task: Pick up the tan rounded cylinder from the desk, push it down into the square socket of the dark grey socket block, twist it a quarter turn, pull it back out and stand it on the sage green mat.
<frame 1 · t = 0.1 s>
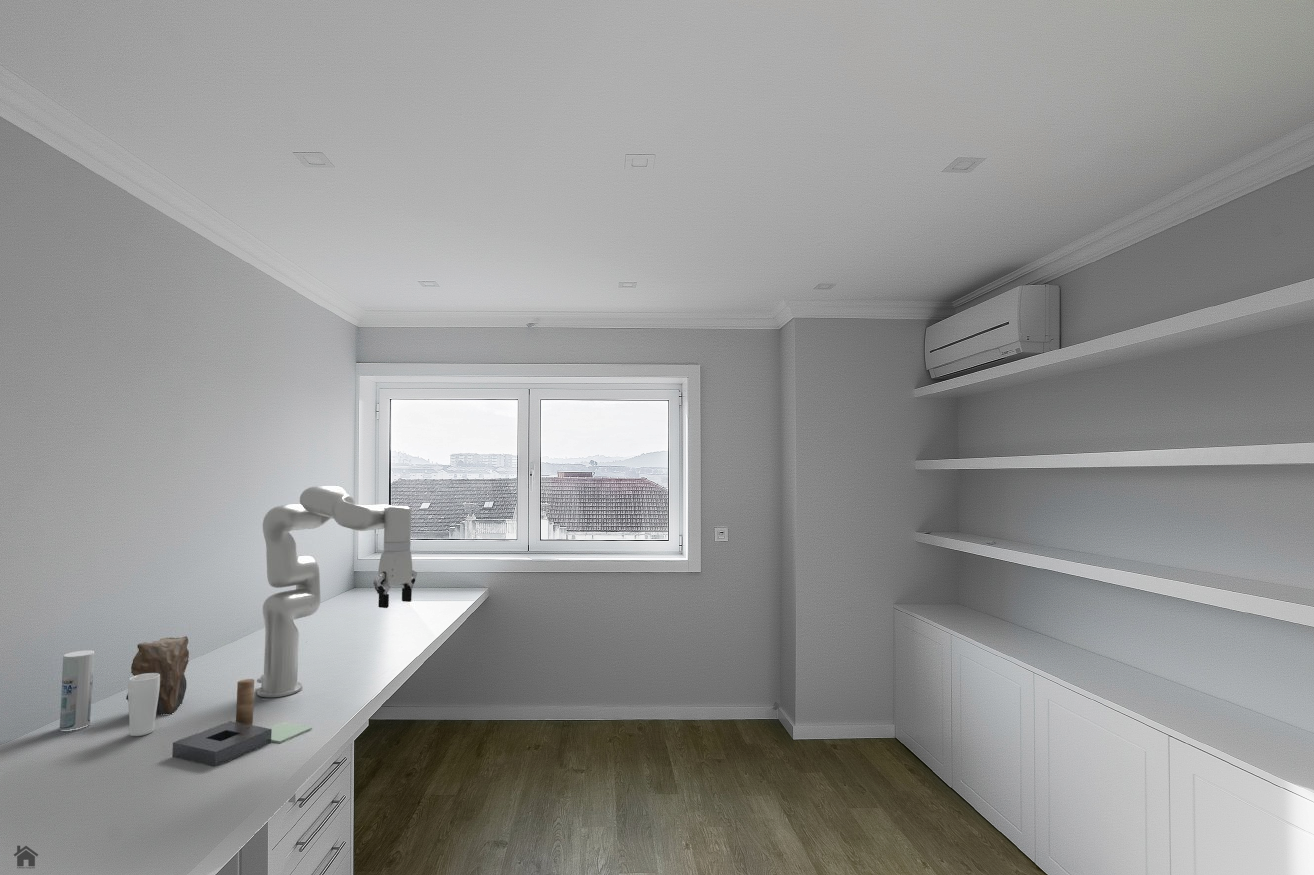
hand: (395, 604, 196), 31 cm above the table, tool pointing down, fingers open, 9 cm apart
dark grey socket block: (222, 749, 166), on the table
drinking glass: (141, 733, 176), on the table
tan rounded cylinder: (244, 725, 182), on the table
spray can: (74, 728, 179), on the table
jagged brown boulder: (159, 711, 192), on the table
set down mat: (281, 733, 176), on the table
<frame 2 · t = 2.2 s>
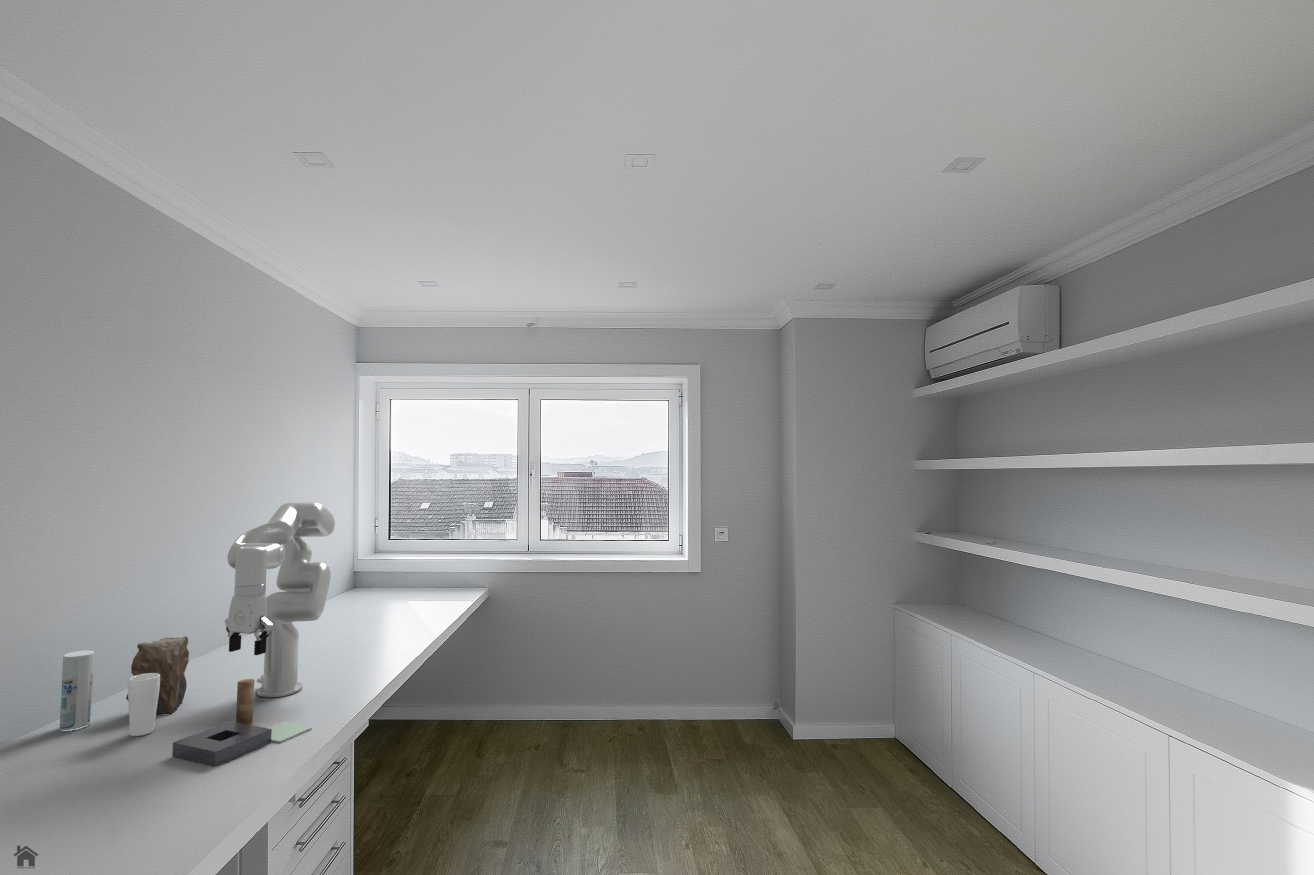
hand: (247, 652, 183), 20 cm above the table, tool pointing down, fingers open, 9 cm apart
nothing on the table moved.
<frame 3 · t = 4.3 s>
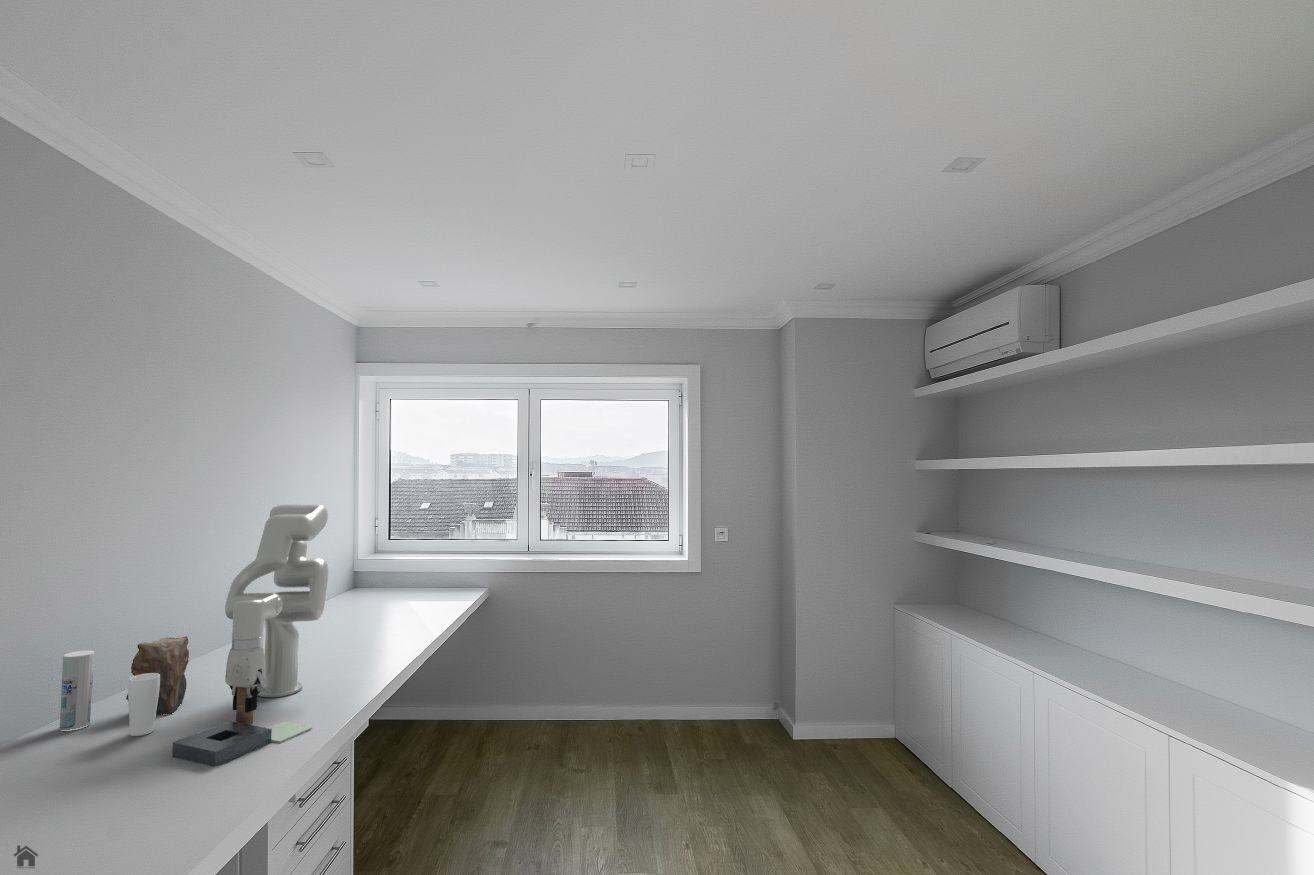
hand: (244, 709, 182), 4 cm above the table, tool pointing down, fingers closed on tan rounded cylinder, 4 cm apart
tan rounded cylinder: (244, 725, 182), on the table, touching gripper
everything else where it was.
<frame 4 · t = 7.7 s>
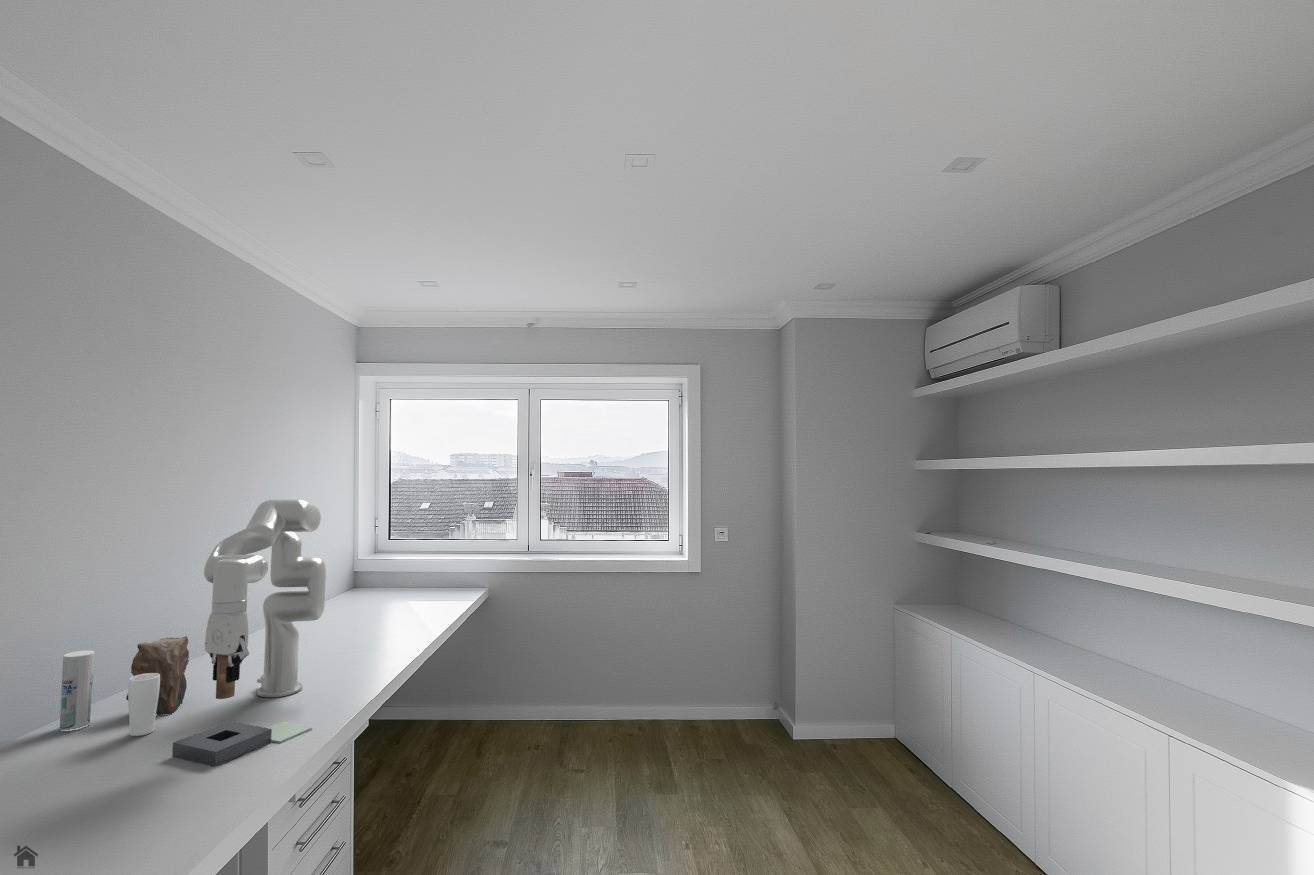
hand: (226, 679, 167), 18 cm above the table, tool pointing down, fingers closed on tan rounded cylinder, 4 cm apart
tan rounded cylinder: (225, 696, 166), point 13 cm above the table, touching gripper
everything else where it was.
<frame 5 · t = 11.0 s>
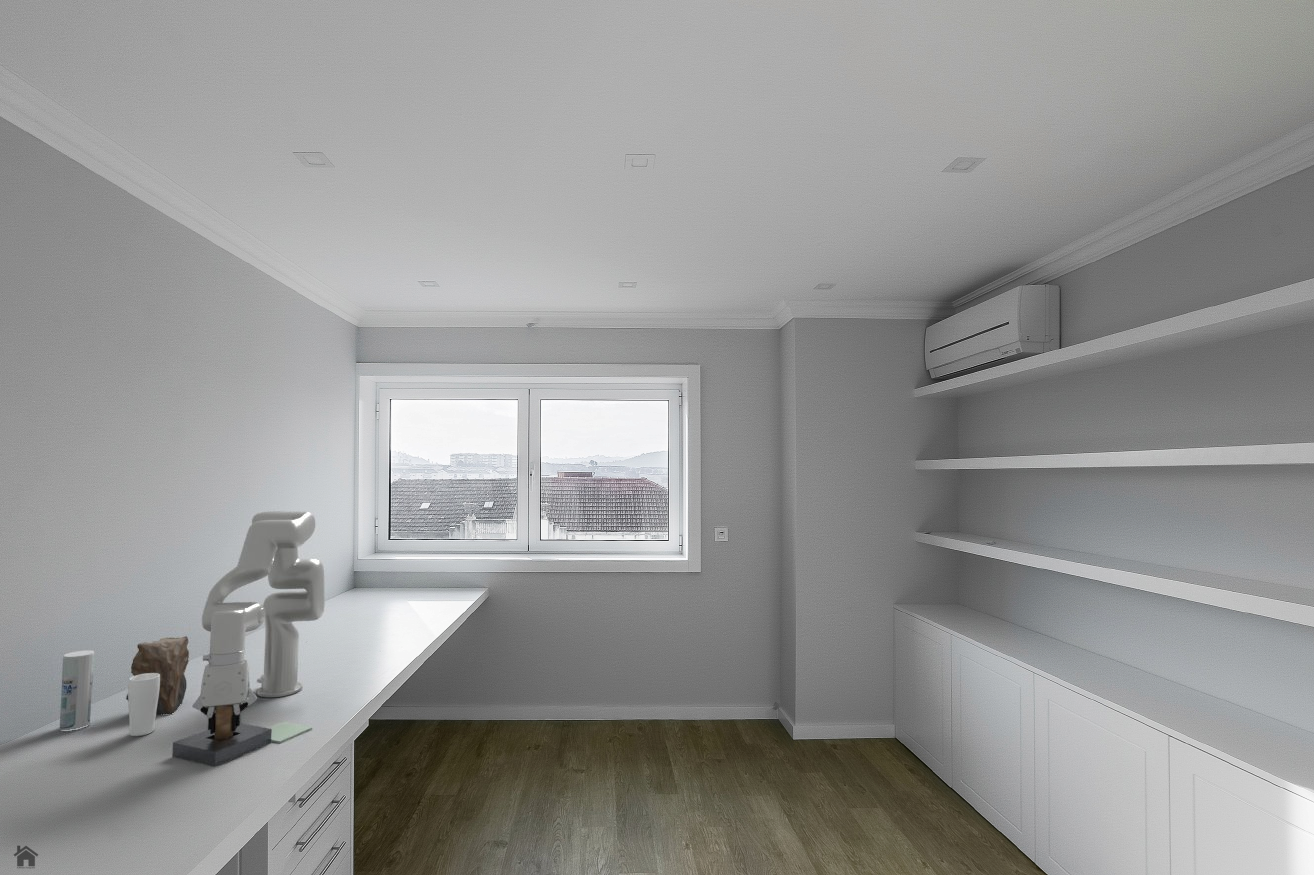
hand: (224, 730, 166), 5 cm above the table, tool pointing down, fingers closed on tan rounded cylinder, 4 cm apart
tan rounded cylinder: (223, 747, 166), point 1 cm above the table, touching gripper
everything else where it was.
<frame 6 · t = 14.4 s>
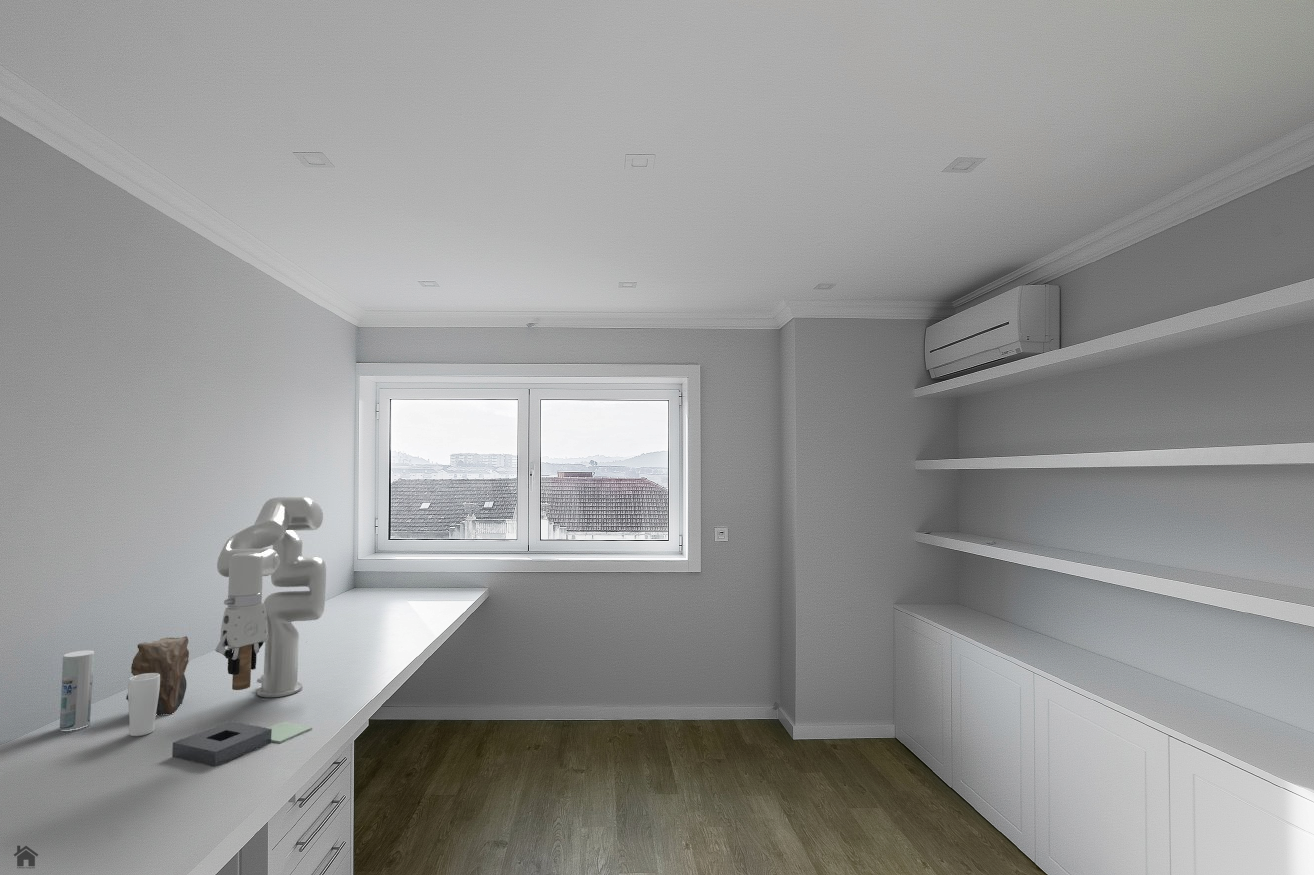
hand: (241, 670, 170), 19 cm above the table, tool pointing down, fingers closed on tan rounded cylinder, 4 cm apart
tan rounded cylinder: (241, 687, 169), point 15 cm above the table, touching gripper
everything else where it was.
when the fingers open (6 cm above the table, at t = 17.8 s): tan rounded cylinder drops 1 cm, resting on set down mat.
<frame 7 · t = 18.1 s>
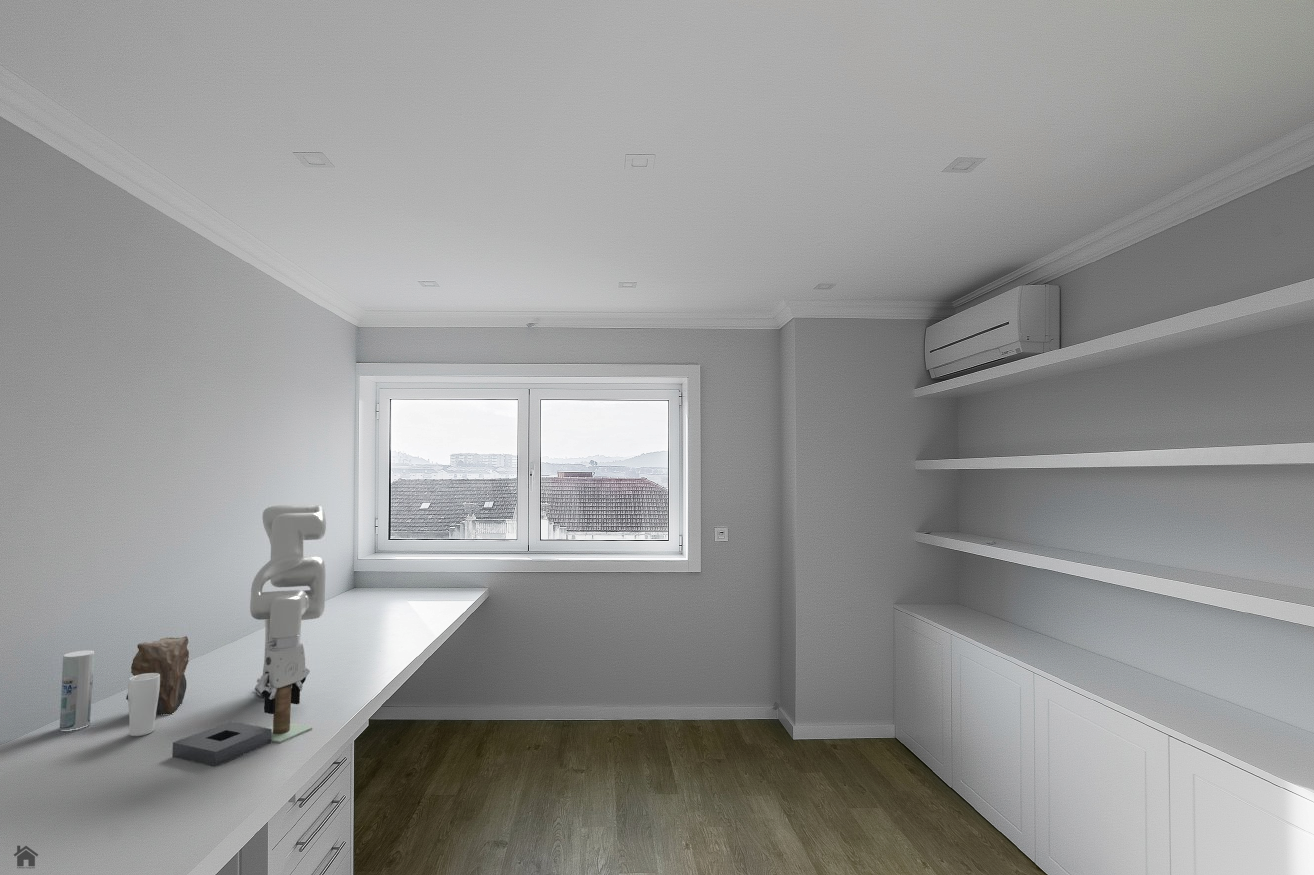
hand: (282, 707, 177), 7 cm above the table, tool pointing down, fingers open, 7 cm apart
tan rounded cylinder: (281, 731, 177), point 1 cm above the table, touching set down mat
everything else where it was.
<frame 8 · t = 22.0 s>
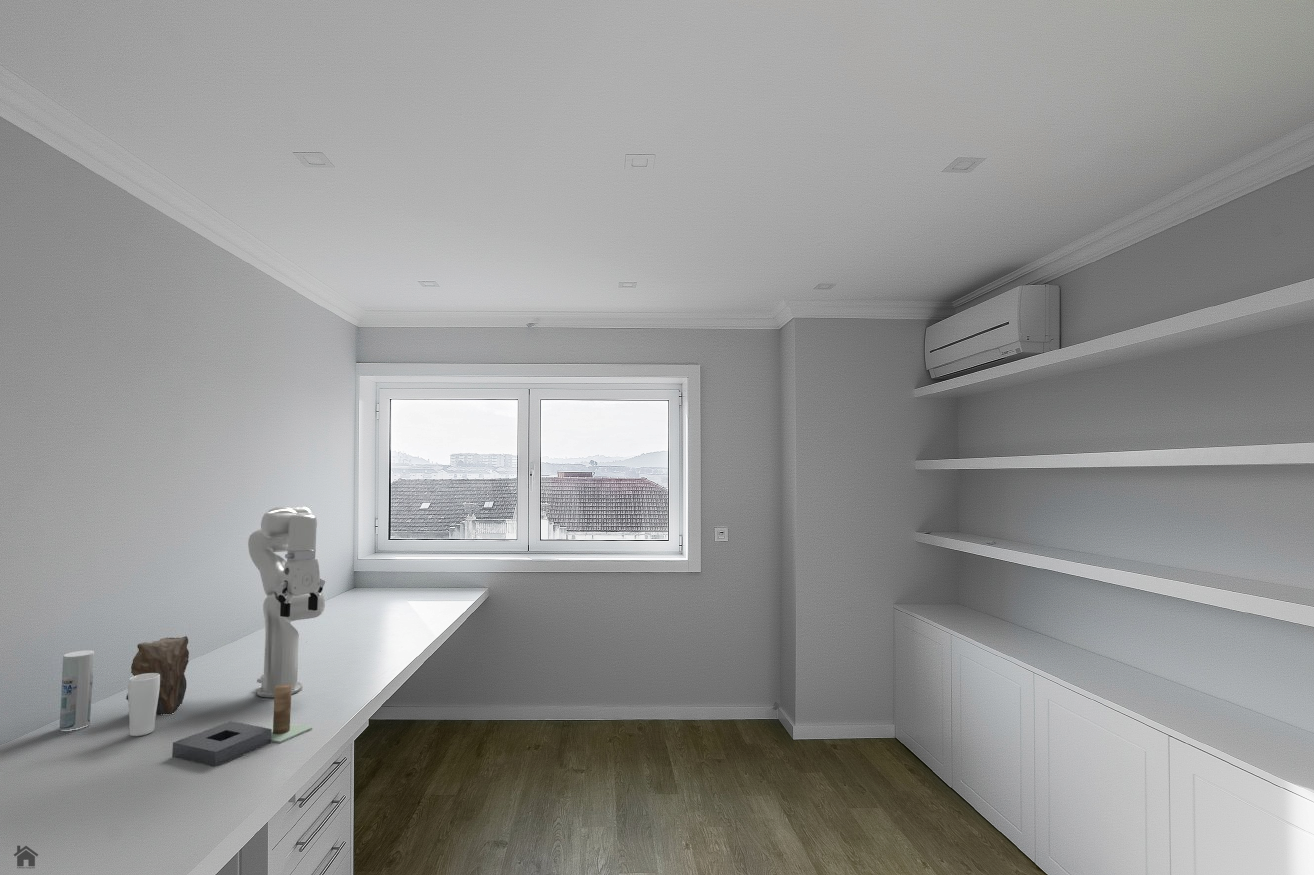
hand: (299, 613, 196), 28 cm above the table, tool pointing down, fingers open, 9 cm apart
nothing on the table moved.
at the end: tan rounded cylinder inside the target area on the set down mat (0.0 cm from its centre), point 0.5 cm above the set down mat's base; tan rounded cylinder tilted 0°; the gripper is holding nothing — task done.
